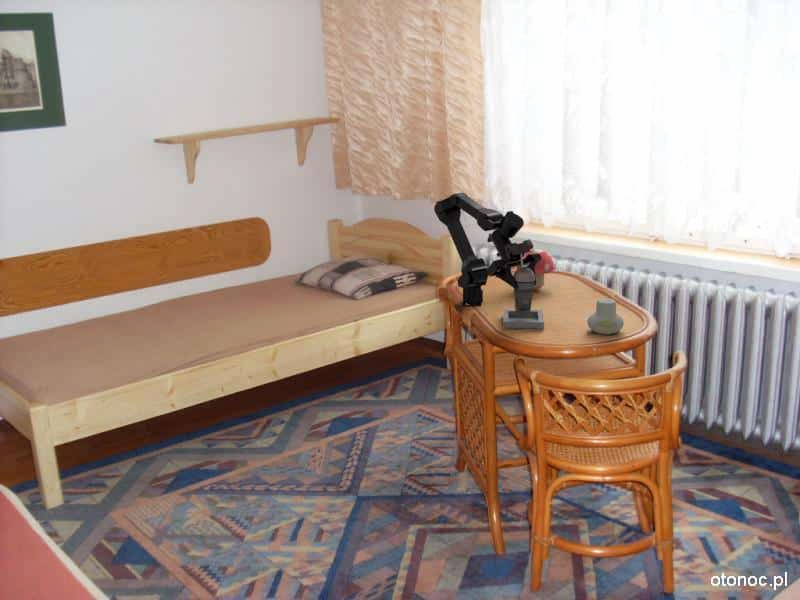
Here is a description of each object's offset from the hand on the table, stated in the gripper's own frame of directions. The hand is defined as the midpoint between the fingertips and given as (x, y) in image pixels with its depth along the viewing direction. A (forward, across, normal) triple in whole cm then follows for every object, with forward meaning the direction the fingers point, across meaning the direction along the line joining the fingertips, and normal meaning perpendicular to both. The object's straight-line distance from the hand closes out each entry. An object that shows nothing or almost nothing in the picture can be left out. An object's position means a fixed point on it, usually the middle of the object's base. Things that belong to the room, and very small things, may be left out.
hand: (526, 286), depth 277 cm
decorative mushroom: (-10, +28, +28) cm, 41 cm away
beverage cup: (+6, 0, +8) cm, 10 cm away
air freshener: (+23, +15, -6) cm, 28 cm away
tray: (+8, 0, +10) cm, 12 cm away
